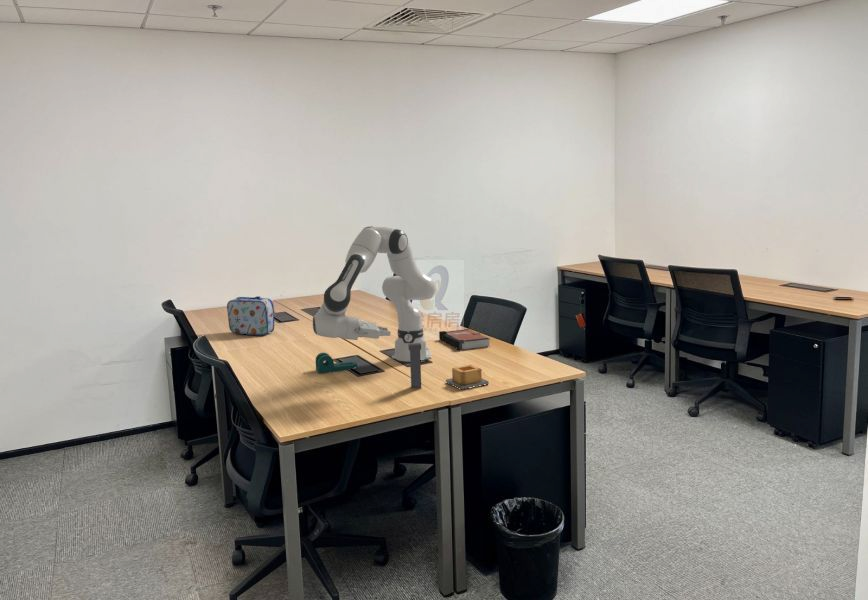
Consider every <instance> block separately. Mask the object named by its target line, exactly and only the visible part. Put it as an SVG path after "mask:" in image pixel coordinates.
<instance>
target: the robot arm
mask: <svg viewBox="0 0 868 600" xmlns="http://www.w3.org/2000/svg"><path fill="white" fill-rule="evenodd" d="M378 253H379V254H386V255H387V256H386V257H387V259H388V263H389V266H390V269H391V271H392V273H393V274H395V275H392V276H386V278H384V280H383V281H382V285H381V291H382V293H383V295H384V296H385V298H387V299H388V300H389V301H390V303H392V305H393V306H394V308H395V311H396V316H397V325H398V327H397V339H395V340H394V354H392V355H391V359H394V360H397V361H398V362H399V361H400V362H404V363H405V362H406V363H409V362H410V350H409V349H408V344H412V343H421V350H420V360H421V361H424V360H430V359H432V354H431V350H430V349H429V348H428V347H427V341H426V339H425V336H424V328H423V320H422V319H423V318H422V316H423V315H422V312H421V310H420V309H419V308H418V307H416V306H415V305H413V304H412V302H411V300H412V301H426V300H428V299H432V298H433V297H434V295H435V293H436V289H437V286H436V282H435V281H434V279H433V278H432V277H430V276H428V275H427V274H425V273H424V272H423V271H422V270H421V269H420V268H419V267H418V265H417V264H416V261H415V257H414V255H413V251H412V247H411V245H410V242H409V238H408V236H407V233H405V231H403V230H401V229H399V228H398V229H397V228H392V227H387V226H373V225H371V226H366V227H363V229H361V231H360V232H359V233H358V234H357V236H356V237H355V239H354V240H353V242H352V244H351V245H350V247H349V250H348V251H347V254H346V258H345V265H344V267H343V269H342V270H341V272H340V274H339V275H338V277H337V279H336V281H334V282H333V283H332V284H331V285H329V286H328V287H327V288H326V289H325V291H324V294H323V302H322V304H321V306H320V308H319V309H318V311H317V312H316V313H315V314H314V315H313V316H312V329H313V332H314V334H315V335H317V336H320V337H325V338H331V339H336V338H341V339H343V340H352V341H358V339H359V338H366V339H375V340H376V339H380V337H390V336H391V330H388V327H383V326H379V325H377V324H376V323H374V322H371V321H366V320H362V319H360V317H354V316H346V312H347V309H348V306H349V304H350V301H351V297H352V296H351V295H352V293H351V290H352V287H353V286H354V283H355V282H356V280H357V279H358V276H359V275H360V274H362V273H366V272H367V271H368V270H369V269H370V267H371V266H372V264H373V262H374V261H375V259H376V257H377V255H378Z"/></svg>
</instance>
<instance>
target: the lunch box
mask: <svg viewBox="0 0 868 600" xmlns="http://www.w3.org/2000/svg"><path fill="white" fill-rule="evenodd" d="M274 306H275V305H274V302H273V301H272V299H270V298H269V297H261V296H255V297H251V296H250V297H249V296H238V297H236V298H234V299H231V300H229V301H227V304H226V309H227V319H228V321H227V322H228V326H229V327H228V328H229V330H230V331H231V333H233V334H236V333H237V334H236V335H243V334H246V336H264V335H267V333H268V334H270V333H269V332H271V333H273V332H274V329H275V314H276V313H277V312H276V309H275V307H274Z"/></svg>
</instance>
